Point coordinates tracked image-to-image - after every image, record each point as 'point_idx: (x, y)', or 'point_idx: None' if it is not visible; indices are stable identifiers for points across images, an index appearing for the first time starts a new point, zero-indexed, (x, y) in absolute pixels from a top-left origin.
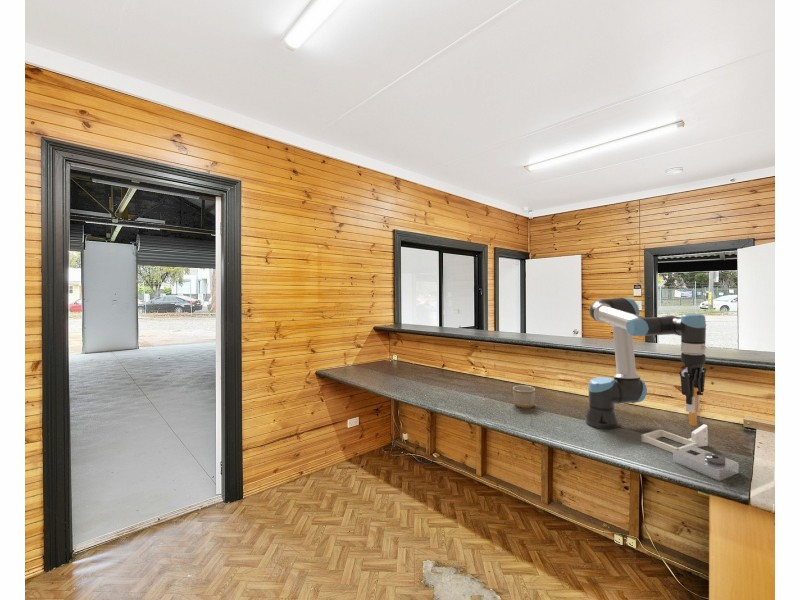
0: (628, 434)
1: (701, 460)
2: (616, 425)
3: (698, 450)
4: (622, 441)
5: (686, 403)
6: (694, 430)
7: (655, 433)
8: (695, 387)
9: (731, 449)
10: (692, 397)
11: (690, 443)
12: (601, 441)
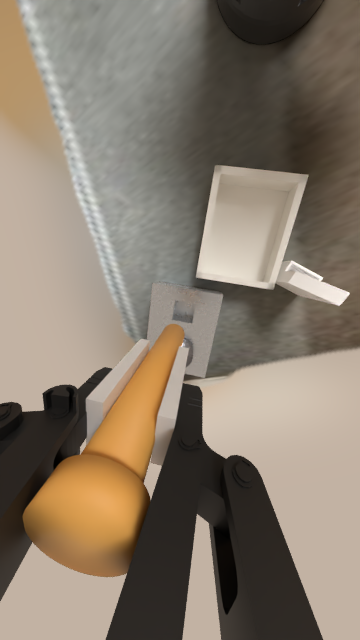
0: (242, 115)
1: (158, 334)
2: (271, 31)
3: (204, 315)
4: (179, 140)
5: (103, 368)
6: (307, 276)
7: (269, 182)
8: (119, 559)
9: (327, 328)
10: (90, 433)
11: (269, 273)
12: (132, 100)
